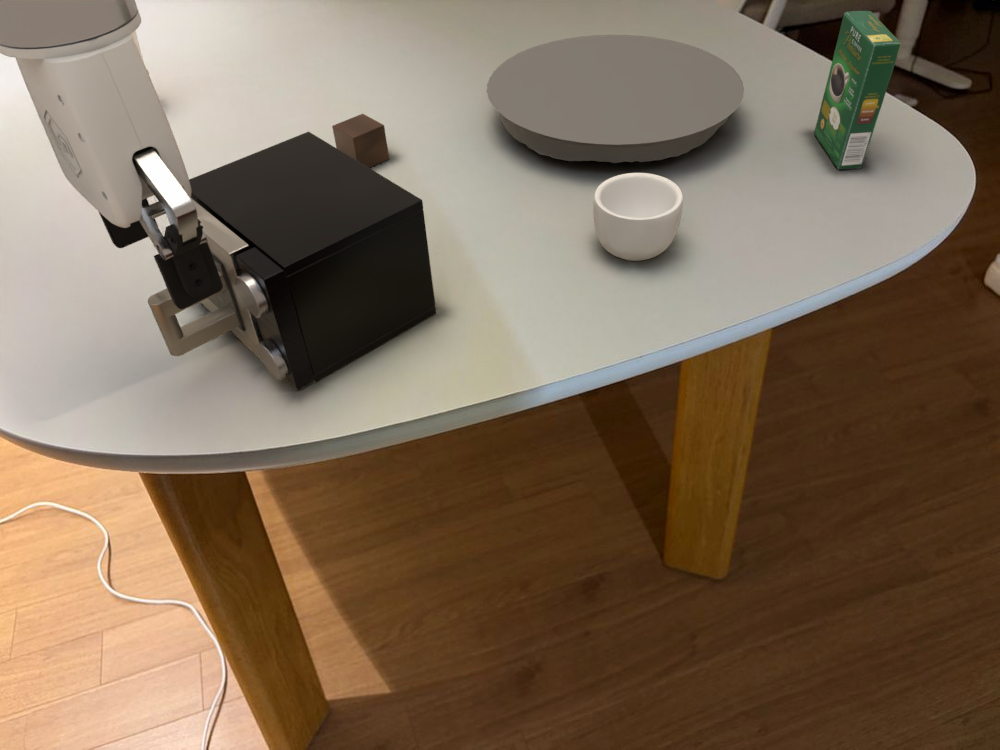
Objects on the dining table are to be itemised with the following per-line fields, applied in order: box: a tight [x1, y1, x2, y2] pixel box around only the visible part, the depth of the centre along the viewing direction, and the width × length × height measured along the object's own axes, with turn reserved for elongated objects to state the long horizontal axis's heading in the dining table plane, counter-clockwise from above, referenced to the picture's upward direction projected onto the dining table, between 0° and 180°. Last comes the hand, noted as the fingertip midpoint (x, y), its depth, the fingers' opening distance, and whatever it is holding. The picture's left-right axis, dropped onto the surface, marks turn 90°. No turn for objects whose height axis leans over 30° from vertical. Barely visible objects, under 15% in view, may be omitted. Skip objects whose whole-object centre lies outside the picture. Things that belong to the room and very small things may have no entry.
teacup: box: [592, 172, 684, 262], centre depth 72 cm, size 10×8×5 cm
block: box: [331, 113, 390, 169], centre depth 86 cm, size 4×4×4 cm
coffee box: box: [813, 10, 902, 170], centre depth 80 cm, size 8×3×13 cm, turn 2°
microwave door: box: [147, 197, 263, 362], centre depth 62 cm, size 7×12×11 cm, turn 42°
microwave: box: [189, 131, 437, 391], centre depth 65 cm, size 14×16×11 cm
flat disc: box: [486, 34, 745, 164], centre depth 90 cm, size 28×28×4 cm
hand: (167, 267), depth 54 cm, fingers open, 9 cm apart
